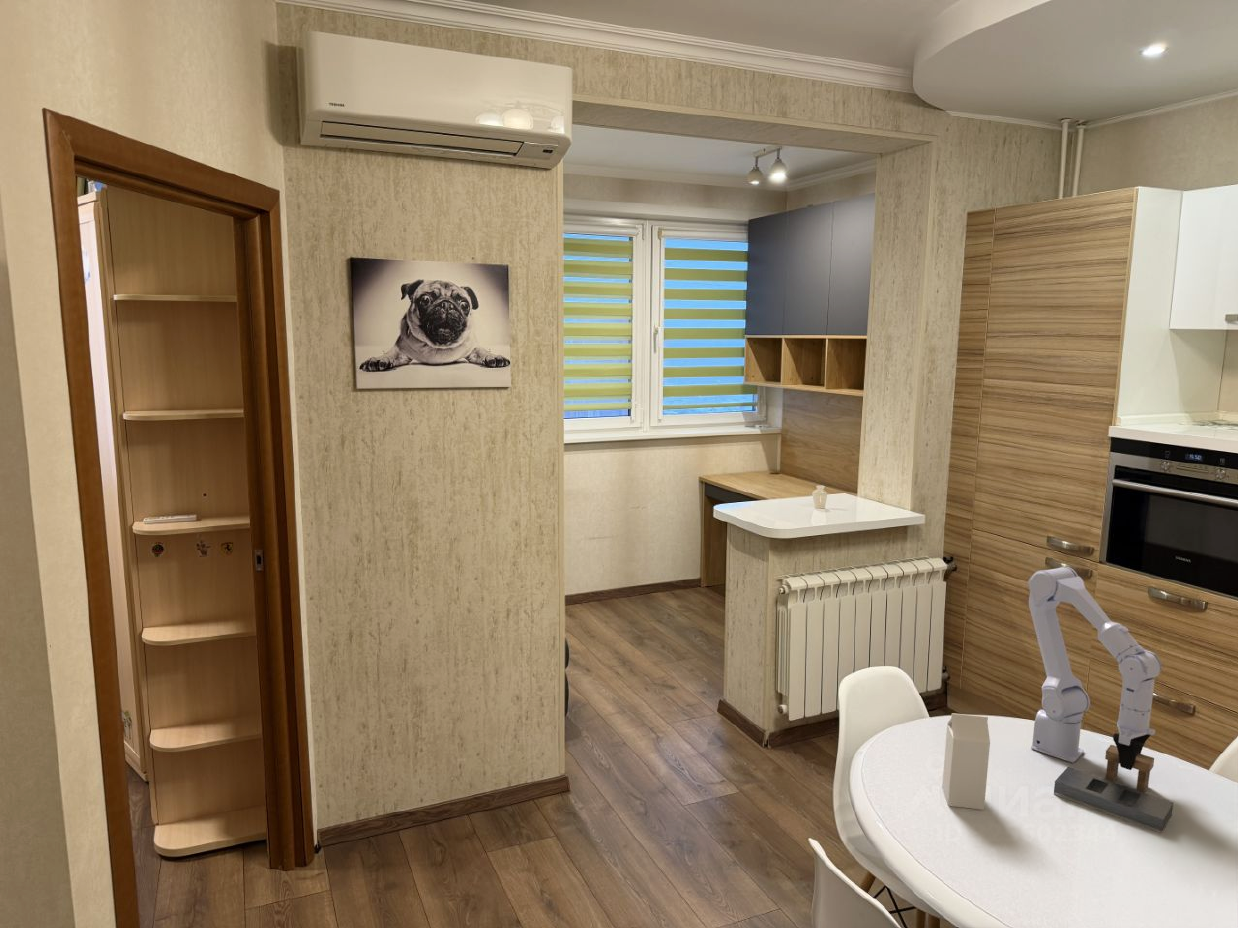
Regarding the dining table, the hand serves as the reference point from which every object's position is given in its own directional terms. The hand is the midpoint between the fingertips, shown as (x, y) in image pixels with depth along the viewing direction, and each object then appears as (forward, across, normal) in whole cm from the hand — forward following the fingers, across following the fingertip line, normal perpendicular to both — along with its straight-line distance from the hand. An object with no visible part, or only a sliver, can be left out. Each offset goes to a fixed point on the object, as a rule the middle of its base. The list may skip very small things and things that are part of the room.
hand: (1128, 764), depth 182 cm
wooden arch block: (+5, 0, 0) cm, 5 cm away
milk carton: (+5, -33, +23) cm, 41 cm away
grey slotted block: (+5, -12, 0) cm, 13 cm away
